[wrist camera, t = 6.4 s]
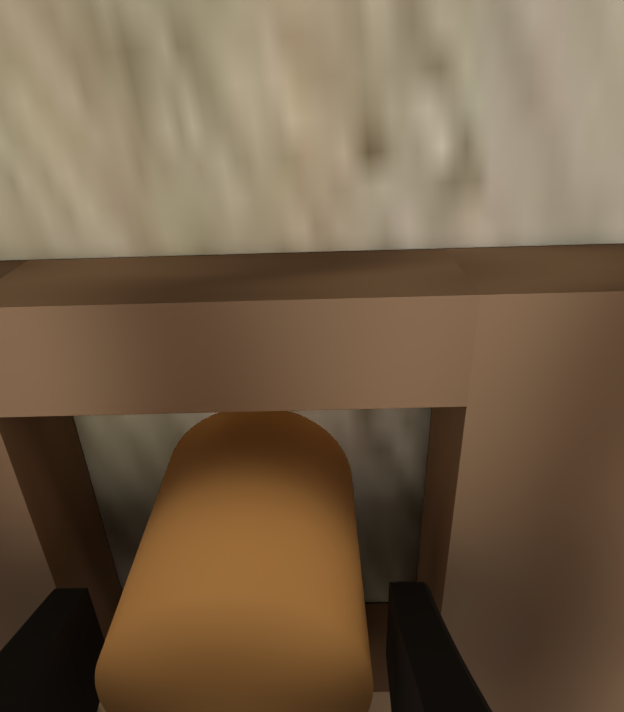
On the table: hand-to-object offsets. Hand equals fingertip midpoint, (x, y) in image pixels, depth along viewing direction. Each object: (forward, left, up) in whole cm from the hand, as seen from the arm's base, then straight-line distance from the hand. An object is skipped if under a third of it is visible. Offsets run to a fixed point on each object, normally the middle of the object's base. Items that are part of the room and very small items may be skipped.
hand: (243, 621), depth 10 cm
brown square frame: (-2, 0, -3) cm, 4 cm away
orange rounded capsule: (0, 0, -3) cm, 4 cm away
